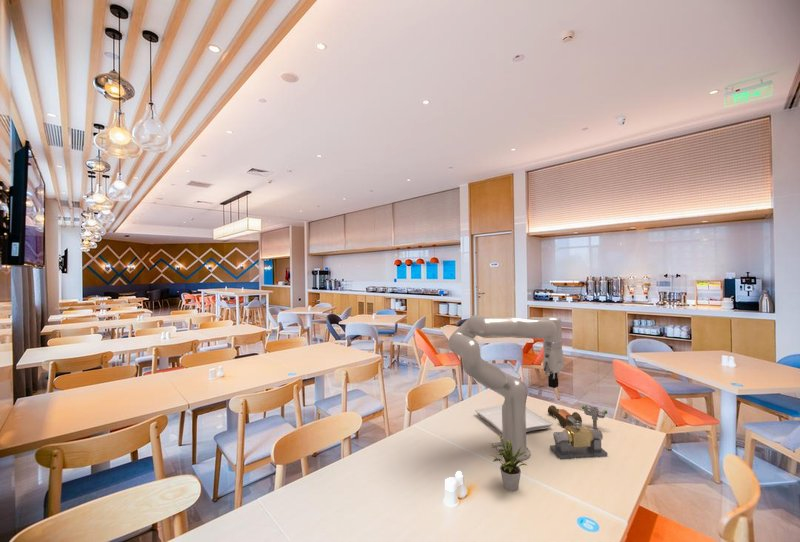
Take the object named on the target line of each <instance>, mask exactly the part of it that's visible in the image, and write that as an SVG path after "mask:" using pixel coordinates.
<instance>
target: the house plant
mask: <svg viewBox="0 0 800 542" xmlns="http://www.w3.org/2000/svg"><path fill="white" fill-rule="evenodd" d="M497 436H498V437H499V440H500V439H501V442H502V445H503V448H504V451H502V452H499V451H501V450H500V449H499V450H498V452H497V453H496V455H498V456H499V455H501V456H502V458H503V460H502V459H500V458H498V457H497V456H495V455H494V454H493V455H492V454H490V456H492V457H493V458H494V459H493V461H492V464H493V463H494V462H500V463H501V465H500V466H499V470H500V474H501V480H502V486H503V487H504V489H506V490H508V491H509V492H511V491H512V492H513V491H514V492H516V491H518V490H519V487H520V478H521V474H522V473H521V472H522V470H521V468H520V466H527V463H524V462H523V460H517V459H516V458H517V457H519V456H521V455H522V454H523V453H525V452H528V451H524V452H523V453H519V451H520V449H521V447H522V446H521V447H520V449H519V450H518V452H517V454H516V455H514V456H513V455H512V444H511V442H510V440H508V439H506V448H505V444H504V441H503V437H501V436H500V435H499V434H497ZM513 442H514V441H513ZM491 443H492V442H491ZM491 443H490V442H488V444H490V445H491ZM493 445H494V444H493ZM494 446H496V445H494ZM508 446H509V449H508ZM496 447H497V446H496ZM506 450H507V451H506ZM520 463H521V464H520Z"/></svg>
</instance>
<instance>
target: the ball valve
mask: <svg viewBox="0 0 800 542" xmlns="http://www.w3.org/2000/svg"><path fill="white" fill-rule="evenodd" d="M552 433H553V434H552V435H553V440H554V443H555V444H554V445H549V450H550V451H551V452H552V453H554V455H555V456H556V457H557V458H558V459H559V460H573V459H575V458H576V459H588V458H603V457H604V458H605V457H608V452H607V451H606V450H604V449H603V448H602V440H603V433H602V431H601V430H600V429H590V428H586V427H584V426H583V425H582V427H576V426H574V425H573V424H572V425H568V426H566V427H565V429H563V430H562V431H554V432H552Z"/></svg>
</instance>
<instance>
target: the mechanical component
mask: <svg viewBox="0 0 800 542" xmlns="http://www.w3.org/2000/svg"><path fill="white" fill-rule="evenodd" d="M581 408H582V410H583V411H584V414H585V415H586V416H590V417H591V419H592V428H593V429H592V430H596V429H597V428H598V424H597V421H598V420H599V418H600V419H604V418H605V417H606V415H607V414H608V410H606V409H602V410H601V411H600V410H599V408H598V406H597V407H596V406H592V405H588V404H584V405H582V407H581Z"/></svg>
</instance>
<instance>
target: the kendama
mask: <svg viewBox="0 0 800 542" xmlns="http://www.w3.org/2000/svg"><path fill="white" fill-rule="evenodd" d="M559 409H560V408H557V407H556V405H554V404H552V405H549V406H548V407H547V414H548V415H549V416H554V418H558V419H557V421H558V423H559V425H560V426H561V427H562V428H564V427H565V428H566V426H570V425H573V423H572V422H571V421H570V420H569V419H565V418H564V417H563V416H561V415H560V414H559ZM571 417H573V418H574V419H575V420H579V421H580V422H582V423H583V419H582V415H580V414H579V413H578V412H576V411H574V412H572V414H571Z"/></svg>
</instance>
